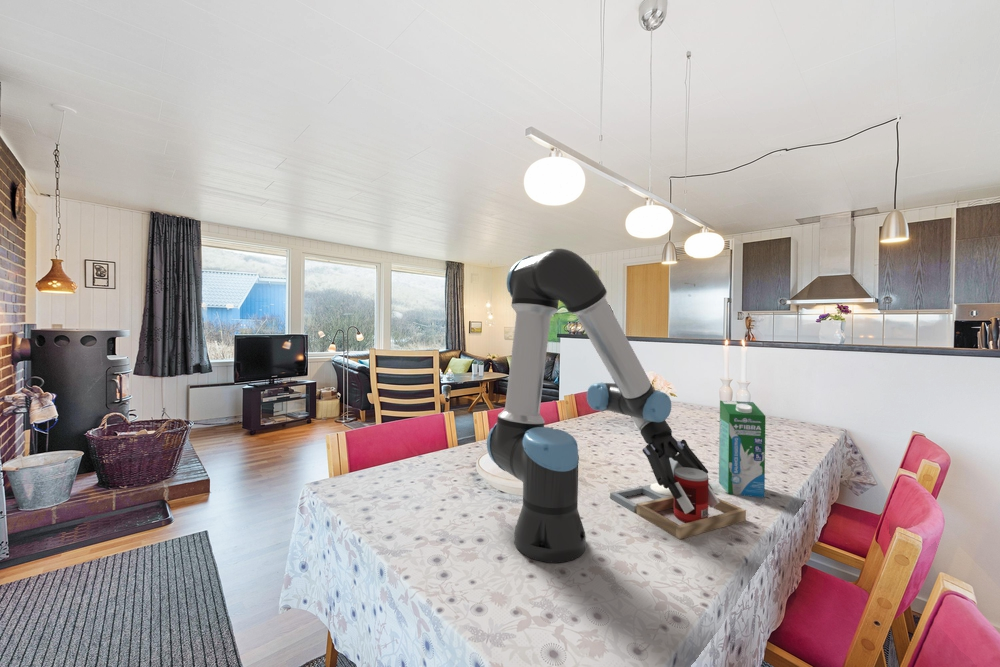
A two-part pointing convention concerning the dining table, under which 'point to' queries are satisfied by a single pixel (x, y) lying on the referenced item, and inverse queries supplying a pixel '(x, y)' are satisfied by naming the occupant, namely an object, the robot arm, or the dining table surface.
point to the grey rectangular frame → (650, 490)
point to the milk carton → (742, 448)
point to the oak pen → (692, 528)
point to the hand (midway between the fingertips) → (702, 508)
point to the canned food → (692, 493)
